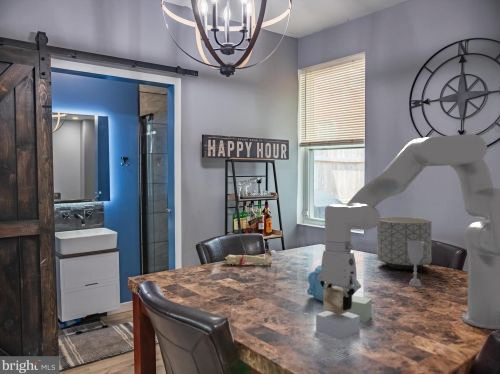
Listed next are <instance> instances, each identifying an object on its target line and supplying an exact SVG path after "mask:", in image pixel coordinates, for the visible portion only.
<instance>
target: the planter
mask: <svg viewBox="0 0 500 374" xmlns="http://www.w3.org/2000/svg"><path fill="white" fill-rule="evenodd" d="M376 227H377V229H376V231H377V232H376V234H377V235H376V241H377V243H376V250H377V251H376V258H377V260H378V261H380V262H383V263H385V265H387V266H389V267H390V268H392V269H395V270H401V271H402V270H403V271H412V270H413V271H414V269H413V268H414V264H413V263H412V262H411V260H410V258H409V255H408V243H407V241H422V242H424V244H423V256H422V258H421V260H420V262H419V264H417V266H416V267H417V269H419V268H422V267H423V266H424V265H429V264H431V263H432V220H431V219H428V218H424V217H423V218H422V217H412V216H385V217H380V222H379V224H378V225H377V226H376Z"/></svg>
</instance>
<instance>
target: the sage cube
mask: <svg viewBox="0 0 500 374" xmlns="http://www.w3.org/2000/svg"><path fill="white" fill-rule="evenodd" d="M372 301H373V299H372V298H369V297H368V298H367V297H364V296H363V297H362V296H357V295H352V310H351V311H349V312H350V313H353V314H356V315H358V316H360V323H361V322H362V323H367V322H368V321H369V320H370V319H371V318H372V315H373V313H372V311H373V310H372V309H373V307H372V303H373V302H372Z"/></svg>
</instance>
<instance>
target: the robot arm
mask: <svg viewBox="0 0 500 374" xmlns="http://www.w3.org/2000/svg"><path fill="white" fill-rule="evenodd" d="M487 149H488V145H487V143H486V141H485V138H483V137H482V136H480V135H478V134H474V133H468V134H467V133H466V134H457V135H456V134H455V135H439V136H437V135H436V136H427V137H420V138H415V139H413V140H411V141H409V142H408V143H407V144H406V145H405V146H404V147H403V149H402V150H400V152H399V153H398V154H397V155H396V156H395V157H394V158H393V159H392V161H391V162H390V163H389V164H388V165H387V166H386V168H385V169H383V170H382V172H380V173H379V174H378V175H376V176H375V177H374V178H373V179H371V180H370V181H369V182H368V183H366V184H365V185H364V186H362V187H361V188H360V189H359V190H358V191H357V192H356V193H354V195H353V196H352V197H351V198H350V200H348V202H347V203H346V204H328V205H327V206H325V209H324V249H323V250H322V251H323V252H322V256H321V258H322V259H321V265H320V266H321V272H320V273H319V274H318V275H317V279H318V280H319V282H320V284H321V285H322V287H323V290H324V289H327V288H331V287H332V286H333V284H334V285H337V286H341V287H342V288H343V292H344V295H345V296H344V297H343V310H345V311H346V310H348V309H351V306H352V297H353V296H354V294H355V293H356V292H357V291H358V290H360V289H361V288H362V285H361V284H360V282H359V280H357V278H358V277H357V265H356V258H355V254H354V251H352V250H354V248H355V245H354V244H352V230H363V231H370V230H372V229H375V228H376V227H377V225H378V224H379V222H380V218H381V214H380V212H379V210H378V209H377V208H376V207H377V206H378V205H379V204H380V203H382V202H383V201H385V200H387V199H389V198H391V197H392V198H393V197H394V196H397V195H400V194H401V193H403V192H404V191H406V190H407V189H408V188H409V187H410V186H411V184H412V183H413V182H414V181H416V178H418V176H420V174H421V173H422V172H423V171H424V170H425V169H426V167H442V166H443V167H444V166H445V167H446V166H447V167H448V166H449V167H451V168H452V169H453V170H454V171H455V173H456V174H457V176H458V179H459V183H460V188H461V194H462V195H461V196H462V201H463V205H464V209H465V212H466V213H467V214H468V216H471V217H473V218H477V219H483V220H479V221H475V222H472V223H471V224H469V225H468V226H467V228H466V230H465V233H464V243H465V247H466V255H467V308H466V309H467V311H466V312H464V313H461V320H462V321H464V322H465V324H468V325H471V326H474V327H477V328H481V329H487V330H500V187H496V188H495V186H494V184H493V179H492V176H491V172H490V168H489V166H488V164H487V162H486V160H485V159H484V157H485V156H486V154H487V151H488V150H487ZM486 220H488V221H486ZM351 285H353V288H352V287H351ZM347 288H348V290H347Z"/></svg>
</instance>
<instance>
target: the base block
mask: <svg viewBox="0 0 500 374" xmlns="http://www.w3.org/2000/svg"><path fill="white" fill-rule="evenodd" d="M360 324H361V321H360V316H358V315H356V314H353V313H350V312H346V313H343V314H341V315H339V314H336V313H333V312H330V311H327V310H324V311H322V312H319V313H315V330H316V331H318V332H320V333H323V334H325V335H327V336H330V337H332V338H335V339H337V340H342V339H344V338H348V337H350V336H352V335H354V334H357V333H360V327H361V326H360Z"/></svg>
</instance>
